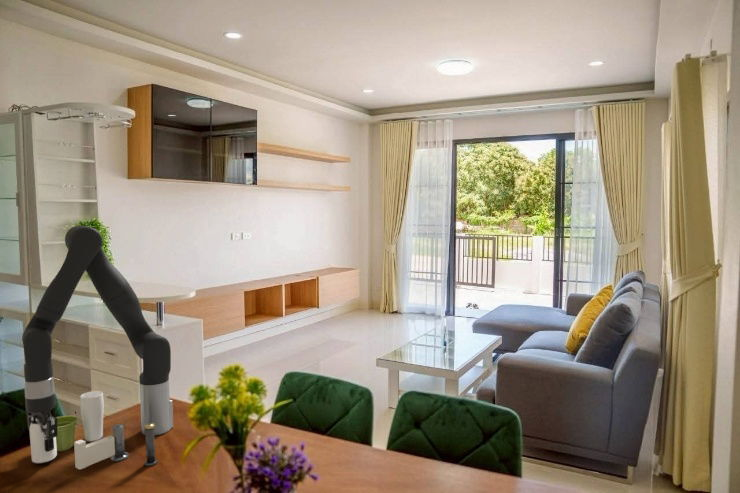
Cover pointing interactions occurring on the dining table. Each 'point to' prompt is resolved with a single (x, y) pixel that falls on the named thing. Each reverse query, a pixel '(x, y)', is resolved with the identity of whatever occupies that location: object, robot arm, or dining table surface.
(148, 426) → the post
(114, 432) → the hinge post
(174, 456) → the dining table surface
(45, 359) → the robot arm
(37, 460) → the can
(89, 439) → the white tapered cup
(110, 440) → the gate
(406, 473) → the dining table surface
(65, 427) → the plant pot
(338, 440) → the dining table surface
